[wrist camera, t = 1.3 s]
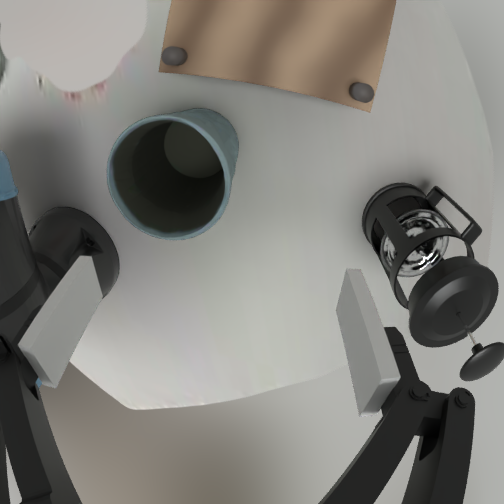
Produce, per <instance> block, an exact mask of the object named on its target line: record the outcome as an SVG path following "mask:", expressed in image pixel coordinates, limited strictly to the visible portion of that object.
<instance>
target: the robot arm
mask: <svg viewBox="0 0 504 504" xmlns="http://www.w3.org/2000/svg"><path fill="white" fill-rule="evenodd" d="M17 194H18V189H17V187H16V186H15V184H14V181H13V177H12V173H11V169H10V165H9V161H8V158H7V156H6V155H5V153H4V152H3V151H1V150H0V504H10V498H9V488H8V478H7V465H6V447H7V451H8V455H9V459H10V462H11V466H12V469H13V473H14V476H15V479H16V482H17V485H18V488H19V491H20V494H21V497H22V502H21V503H20V504H82V502H81V500H80V498H79V496H78V494H77V492H76V490H75V488H74V486H73V484H72V481H71V479H70V477H69V474H68V472H67V470H66V468H65V465H64V463H63V460H62V458H61V455H60V453H59V450H58V447H57V445H56V442H55V439H54V436H53V434H52V431H51V428H50V425H49V422H48V419H47V416H46V412H45V409H44V406H43V402H42V399H41V395H40V391H39V387H40V386H41V384H42V383H43V385H46V386H50V387H53V388H57V385H58V383H59V381H60V379H61V377H62V375H63V373H64V370H65V368H66V366H67V364H68V362H69V360H70V358H71V356H72V354H73V352H74V350H75V348H76V346H77V344H78V342H79V340H80V338H81V336H82V334H83V332H84V330H85V329H86V327H87V325H88V323H89V321H90V319H91V317H92V315H93V314H94V312H95V310H96V308H97V306H98V304H99V303H100V301H101V299H103V298H104V297H105V296H106V295H107V294H108V293H109V292H110V290H111V288H112V287H113V285H114V284H115V282H116V280H117V277H118V274H119V259H118V255H117V252H116V249H115V246H114V244H113V242H112V240H111V239H110V237H109V236H108V234H107V233H106V231H105V230H104V229H103V228H102V227H101V226H100V225H99V224H98V223H97V222H96V221H95V220H94V219H92V218H91V217H90V216H88V215H87V214H85V213H83V212H81V211H79V210H76V209H73V208H68V207H58V208H54V209H51V210H49V211H48V212H46V213H45V214H44V215H43V216H42V217H40V218H39V219H38V220H37V221H36V223H35V224H34V225H33V227H32V229H31V231H30V233H29V236H28V234H27V231H26V228H25V224H24V221H23V218H22V214H21V210H20V207H19V203H18V199H17ZM336 312H337V316H338V321H339V325H340V329H341V333H342V337H343V342H344V346H345V350H346V355H347V359H348V364H349V368H350V372H351V378H352V382H353V387H354V392H355V397H356V402H357V407H358V412H359V417H362V416H372V415H377V413H378V412H379V410H380V409H381V410H382V414H383V417H382V418H381V420H380V421H379V422H378V424H377V425H376V426H375V427H376V428H375V429H374V431H373V432H372V434H371V435H370V437H369V438H368V440H367V441H366V443H365V444H364V445H363V447H362V448H361V450H360V451H359V453H358V454H357V455H356V457H355V458H354V459H353V461H352V462H351V464H350V465H349V466H348V468H347V469H346V470H345V472H344V473H343V474H342V475H341V477H340V478H339V479H338V481H337V482H336V483H335V484H334V486H333V487H332V488H331V489H330V491H329V492H328V493H327V494H326V495H325V497H324V498H323V499H322V500H321V501H320V502H319V504H373V503H374V502H375V501H376V499H377V498H378V496H379V495H380V493H381V492H382V490H383V489H384V487H385V486H386V484H387V482H388V481H389V479H390V478H391V476H392V474H393V473H394V471H395V469H396V468H397V466H398V464H399V462H400V461H401V459H402V457H403V456H404V454H405V452H406V450H407V448H408V447H409V445H410V443H411V441H412V439H413V437H414V435H417V436H420V438H419V442H418V447H417V451H416V455H415V460H414V463H413V467H412V471H411V475H410V478H409V481H408V485H407V489H406V492H405V495H404V498H403V501H402V504H463V499H464V494H465V489H466V484H467V478H468V472H469V465H470V458H471V450H472V440H473V430H474V415H475V400H474V397H473V395H472V393H470V392H469V391H468V390H467V389H465V388H459V387H458V388H455V389H453V390H452V391H451V392H450V394H445V393H439V392H434V391H431V389H430V388H429V386H428V385H427V384H425V383H424V382H422V381H420V380H419V377H418V375H417V372H416V369H415V367H414V364H413V361H412V358H411V356H410V353H409V351H408V348H407V346H406V343H405V340H404V338H403V335H402V334H401V333H400V332H399V331H398V330H397V328H396V327H383V325H382V322H381V319H380V316H379V314H378V311H377V309H376V306H375V303H374V301H373V298H372V296H371V293H370V291H369V288H368V286H367V283H366V281H365V278H364V276H363V273H362V271H361V269H346V272H345V277H344V281H343V285H342V289H341V293H340V297H339V300H338V304H337V308H336Z"/></svg>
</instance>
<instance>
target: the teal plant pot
mask: <svg viewBox="0 0 504 504" xmlns="http://www.w3.org/2000/svg"><path fill="white" fill-rule="evenodd" d="M238 145H239V144H238V138H237V135H236V132H235V130H234V128H233V127H232V125H231V124H230V123H229V121H228V120H227V119H225V118H224V117H223V116H222V115H220V114H219V113H217V112H214V111H212V110H208V109H201V108H200V109H190V110H186V111H183V112H174V113H170V114H163V115H156V116H151V117H147V118H144V119H141V120H139V121H137V122H135V123H134V124H132V125H131V126H129V127H128V128H127V129H126V130H125V131H124V132H123V133H122V134H121V135H120V136H119V137H118V139H117V140H116V142H115V143H114V145H113V147H112V150H111V152H110V155H109V158H108V164H107V184H108V187H109V191H110V194H111V197H112V199H113V201H114V203H115V205H116V206H117V208H118V209H119V210H120V212H121V213H122V215H123V216H124V217H125V218H126V219H127V220H128V221H129V222H130V223H131V224H132V225H133V226H134V227H136V228H137V229H139V230H140V231H142V232H144V233H146V234H148V235H150V236H153V237H156V238H160V239H165V240H184V239H189V238H192V237H195V236H197V235H199V234H202V233H204V232H205V231H207V230H208V229H210V228H211V227H212V226H213V225H214V224H215V223H216V222H217V221H218V220H219V219H220V217H221V216H222V214H223V212H224V210H225V208H226V206H227V204H228V200H229V196H230V191H231V184H232V178H233V175H234V172H235V164H236V161H237V156H238Z"/></svg>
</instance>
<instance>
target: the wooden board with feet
mask: <svg viewBox="0 0 504 504" xmlns="http://www.w3.org/2000/svg"><path fill="white" fill-rule="evenodd" d="M395 4H396V0H172V2H171V6H170V11H169V16H168V21H167V26H166V31H165V37H164V42H163V48H162V54H161V60H160V67H159V72H165V73H178V74H188V75H198V76H206V77H214V78H222V79H229V80H235V81H241V82H247V83H253V84H259V85H264V86H269V87H274V88H279V89H284V90H288V91H293V92H297V93H301V94H306V95H310V96H314V97H318V98H321V99H325V100H329V101H333V102H336V103H340V104H343V105H347V106H350V107H353V108H357V109H360V110H363V111H366V112H369V113H370V111H371V108H372V104H373V100H374V96H375V92H376V89H377V85H378V81H379V77H380V73H381V69H382V64H383V60H384V56H385V52H386V47H387V43H388V38H389V34H390V29H391V24H392V20H393V15H394V10H395Z"/></svg>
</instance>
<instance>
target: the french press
mask: <svg viewBox="0 0 504 504" xmlns="http://www.w3.org/2000/svg"><path fill="white" fill-rule="evenodd" d="M405 197H413V198H415V199H416V200H417V201H418V202H419V204H420V205H421V208H422V209H414V210H411V211H407V212H405V213H403V214H401V215H399V216H398V217H396V218H395V216H394V215H393V214H392V212H391V211H390V210H389V208H388V207H387V206H388V205H389V204H391V203H392V202H394V201H396V200H398V199H401V198H405ZM443 197H445V198H446V199H447V200H448V201H449V202H450V203H451V204H452V205H453V206H454V207H455V208H456V209H457V210H458V211H459V212H461V213H462V214H463V215H464V216H465V217H466V218H467V219H468V220H469V221H470V222H471V223H470V224H469V226H468V227H467V228H466V229H465V230H464V232H463V233H462V234H460V233H459V232H458V230H457V229H456V228H455V227H454V226H453V225H452V224H451V223H450V222H449V221H448V220H447V218H446V217H445V216H444V215H443V214H442V213H441V212H440V211H439V210H438V209H437V208H436V207H435V206H436V205H437V204H438V203H439V201H440V200H441V199H442V198H443ZM377 219H378V221H379V223H380V224H381V226H382V227H383V229H384V231H385V232H384V235H383V238H382V240H380V239H379V238H378V237H377V235H376V234H375V232H374V224H375V222H376V220H377ZM445 221H446V222H445ZM446 223H447V224H448V225H449V226H450V227H451V228H452V229H451V228H448V226H447V224H446ZM362 227H363V232H364V234H365V237H366V239H367V240H368V241H369V243H370V244H371V245H372V247H373V249H374V251H375V252H376V254H377V255H378V257H379V259H380V261H381V263H382V266H383V268H384V270H385V272H386V274H387V276H388V278H389V281H390V284H391V287H392V290H393V292H394V295H395V297H396V299H397V300H398V302H399V303H400V304H401V305H402V306H403V307H404V308H406V309H408V310H409V315H410V318H409V329H410V333H411V336H412V337H413V339H414V340H415V341H416V342H417V343H419V344H420V345H423V346H426V347H442V346H447V345H450V344H453V343H456V342H458V341H460V340H462V339H464V338H465V337H467V336H468V337H469V339H470V340H471V342H472V345H473V348H472V352H473V355H472V356H471V357H470V358H469V359H468V360H467V361H466V362H465V364H464V365H463V367H462V368H461V371H460V378H461V379H462V380H464V381H473V380H477V379H479V378H482V377H484V376H485V375H487V374H489V373H490V372H491V371H493V370H494V369H495V368H496V367H497V366H498V365H499V364H500V363H501V361H502V360H503V358H504V343H501V342H496V343H492V344H490V345H487V346H485V347H484V348H483V346H482V345H481V344H480V343H479V344H477V343H476V341H475V339H474V337H473V335H472V332H474V331H475V330H476V329H477V328H478V327H479V326H480V325H481V324H482V323H483V322H484V321H485V320H486V318H487V317H488V316H489V314H490V313H491V311H492V309H493V307H494V305H495V303H496V300H497V296H498V282H497V278H496V277H495V275H494V273H493V272H492V271H491V270H490V269H489V268H488V267H485V266H483V265H480V264H479V262H477V261H476V260H475V259H474V253H473V250H472V247H471V245H472V243H473V242H474V241H475V240H476V239H477V238H478V236H479V235H480V234H481V233H482V229H481V227H480V226H479V225H478V224H477V223H476V222H475V220H474V219H473V218H472V217H471V216H470V215H469V214H468V213H467V212H465V211H464V210H463V209H462V208H461V207H460V206H459V205H458V204H457V203H456V202H455V201H454V200H452V199H451V198H450V197H449V196H448V195H447V194H446V193H445V192H444V191H442V190H441V189H440V188H439V187H437V186H434V187H433V189H432V190H431V191H430V192H429V193H428V195H427V196H426V195H425V194H424V193H423V191H422V190H420V189H419V188H417V187H416V186H413V185H411V184H406V183H395V184H391V185H388V186H386V187H384V188H382V189H381V190H379V191H378V192H376V193H375V195H374V196H373V197H372V198H371V199H370V200H369V202H368V203H367V205H366V207H365V210H364V213H363V217H362ZM449 236H451V237H457V238H459V239H461V240H463V241H464V242H465V245H466V248H467V256H457V257H452V258H449V259H445V260H444V259H443V255H444V253H445V251H446V249H447V246H448V241H449ZM425 272H426V273H425ZM423 273H425V274H423ZM421 274H423V275H422V277H421V278H420V279H419V280H418V281H417V283H416V284H415V286H414V287H413V289H412V291H411V293H410V296H409V301H407V299H406V297H405V294H404V292H403V290H402V288H401V286H400V284H399V282H398V280H397V276H400V277H414V276H418V275H421Z"/></svg>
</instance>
